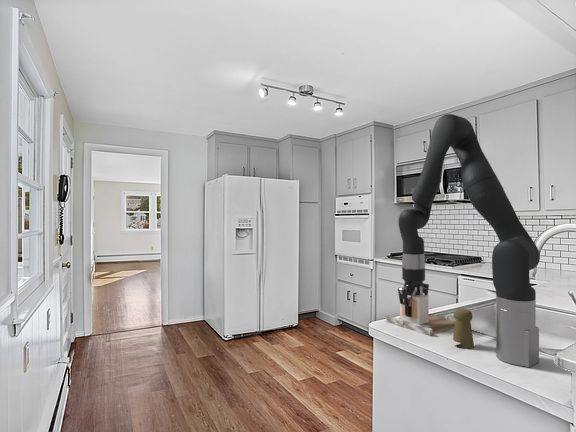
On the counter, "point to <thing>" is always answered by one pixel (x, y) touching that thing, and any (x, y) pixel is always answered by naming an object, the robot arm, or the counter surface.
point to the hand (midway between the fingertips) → (413, 314)
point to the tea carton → (417, 310)
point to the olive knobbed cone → (463, 329)
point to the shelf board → (425, 325)
